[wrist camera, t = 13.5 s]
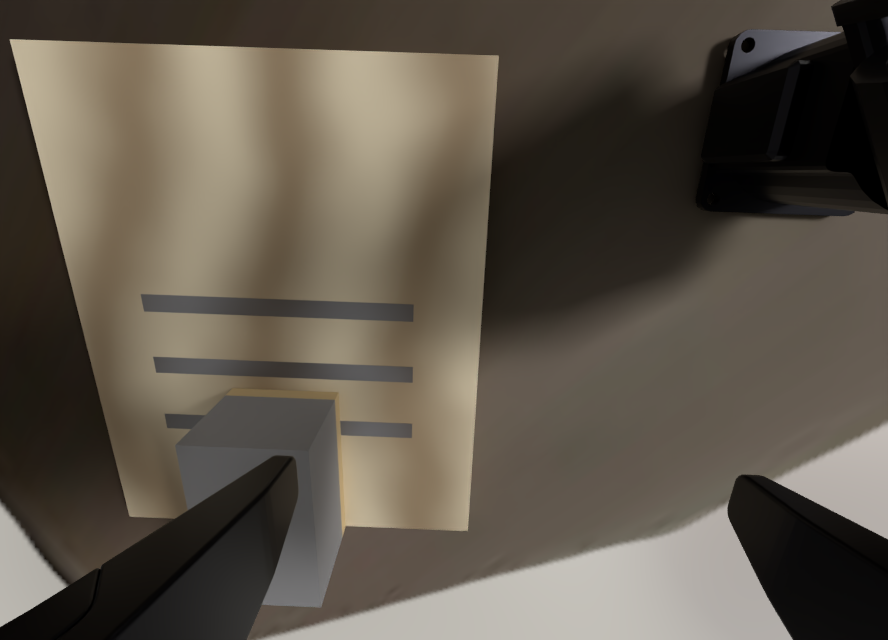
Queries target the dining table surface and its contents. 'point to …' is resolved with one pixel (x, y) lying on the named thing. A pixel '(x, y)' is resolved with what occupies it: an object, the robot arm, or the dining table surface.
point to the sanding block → (257, 439)
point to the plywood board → (276, 249)
